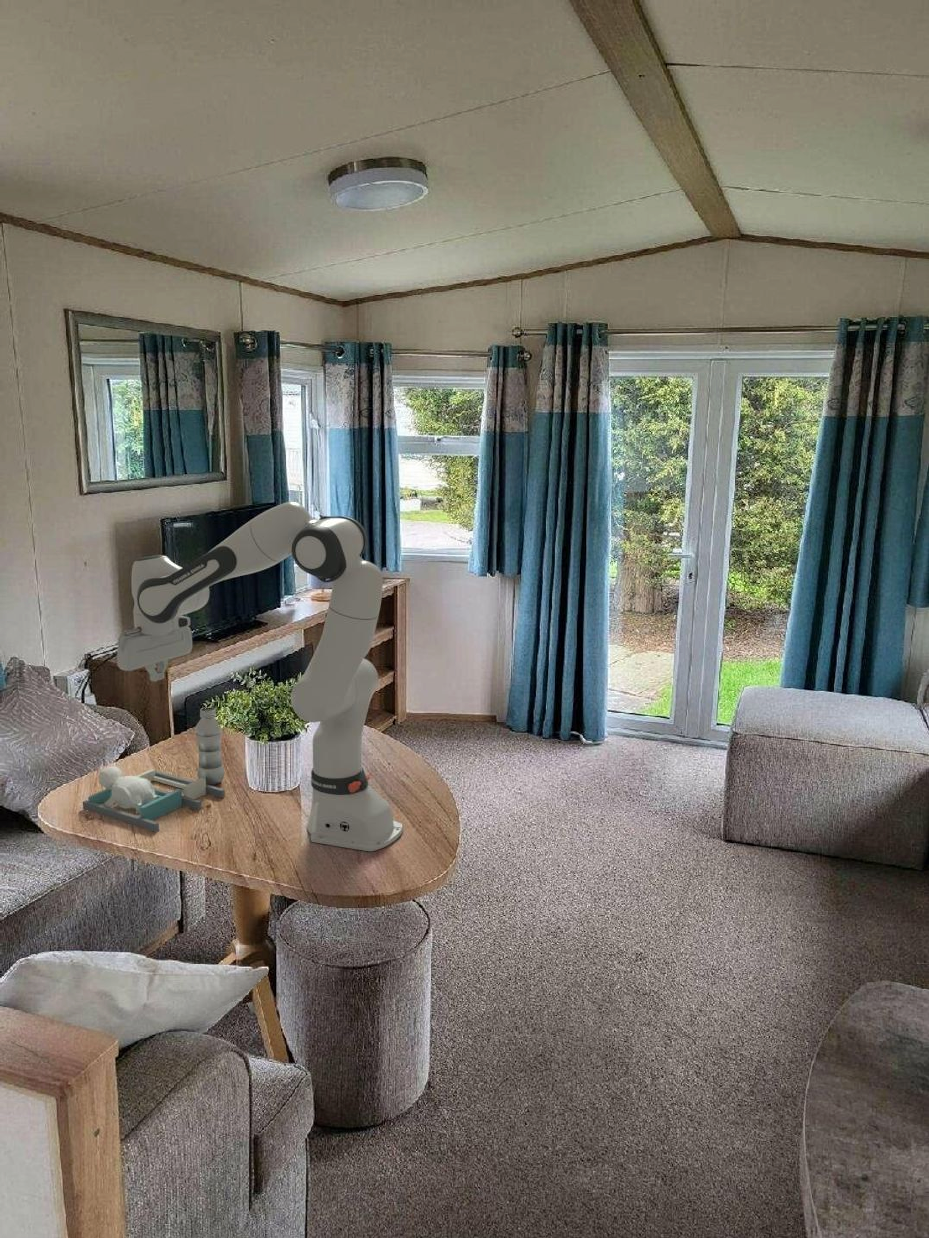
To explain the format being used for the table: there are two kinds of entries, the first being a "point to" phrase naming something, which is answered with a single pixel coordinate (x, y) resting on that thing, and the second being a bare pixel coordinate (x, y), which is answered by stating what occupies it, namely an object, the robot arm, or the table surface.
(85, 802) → the lane rails
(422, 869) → the table surface
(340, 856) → the table surface
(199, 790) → the grey elongated piece
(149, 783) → the white animal figurine
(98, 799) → the teal sled
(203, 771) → the plastic bottle
